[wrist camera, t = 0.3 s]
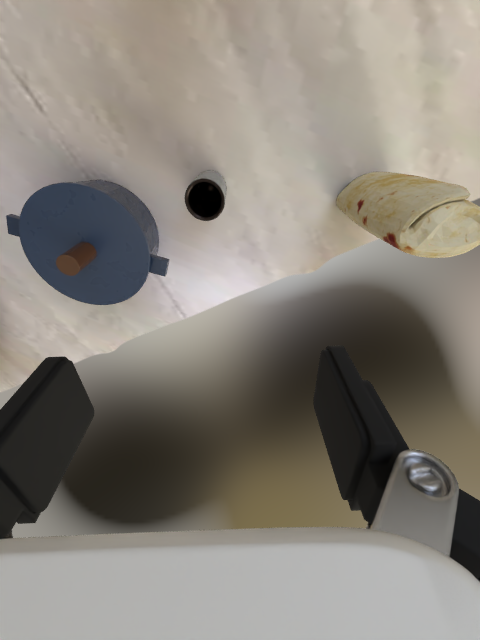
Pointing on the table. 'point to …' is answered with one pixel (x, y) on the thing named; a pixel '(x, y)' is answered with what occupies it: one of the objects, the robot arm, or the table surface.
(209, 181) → the grey tube
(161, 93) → the table surface
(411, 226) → the food model
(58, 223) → the lid
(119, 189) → the pot
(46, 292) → the table surface
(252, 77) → the table surface
